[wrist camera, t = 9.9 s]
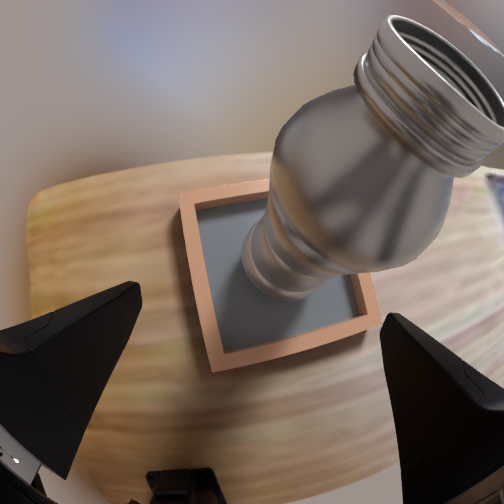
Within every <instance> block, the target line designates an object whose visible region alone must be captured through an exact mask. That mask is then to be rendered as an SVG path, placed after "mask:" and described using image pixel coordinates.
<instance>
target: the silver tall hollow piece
mask: <svg viewBox="0 0 504 504" xmlns="http://www.w3.org/2000/svg"><path fill="white" fill-rule="evenodd" d="M353 75H354V83H355V85H353V86H348V87H345V88H341V89H337V90H333V91H331V92H328V93H326V94H324V95H322V96H319V97H317V98H315V99H313V100H311V101H309V102H308V103H306V104H304V105H303V106H302V107H301V108H300V109H299V110H298V111H297V112H296V113H295V114H294V115H293V116H292V117H291V118H290V119H289V120H288V121H287V123H286V124H285V125H284V126H283V127H282V128H281V130H280V132H279V134H278V136H277V138H276V141H275V147H274V151H273V156H272V161H271V167H270V182H269V198H268V202H267V206H266V210H265V213H264V215H263V216H262V218H261V219H260V220H258V221H257V222H256V223H255V224H254V225H253V227H252V228H251V229H250V231H249V232H248V233H247V235H246V237H245V239H244V242H243V246H242V263H243V268H244V270H245V272H246V275H247V277H248V278H249V280H250V281H251V283H252V284H253V285H254V286H255V287H256V288H257V289H258V290H259V291H260V292H262V293H263V294H265V295H266V296H269V297H271V298H273V299H276V300H281V301H296V300H301V299H303V298H306V297H308V296H310V295H311V294H312V293H314V292H315V291H317V290H318V289H319V288H320V287H321V286H322V285H323V284H324V283H325V282H326V281H327V280H329V279H330V278H333V277H337V276H341V275H344V274H357V273H369V272H378V271H383V270H387V269H391V268H395V267H400V266H404V265H406V264H408V263H409V262H411V261H413V260H415V259H416V258H417V257H418V256H419V255H420V254H421V253H422V252H423V251H424V250H425V249H426V248H427V247H428V246H429V245H430V244H431V243H432V242H433V240H434V239H435V238H436V237H437V236H438V234H439V232H440V230H441V228H442V226H443V223H444V220H445V217H446V214H447V211H448V208H449V204H450V200H451V194H452V187H453V180H454V177H458V178H463V177H466V176H469V175H470V174H471V173H473V172H474V171H475V170H476V169H478V168H479V167H480V166H481V165H482V163H483V160H484V158H485V157H486V156H487V155H488V154H490V153H491V152H492V151H493V150H495V149H496V148H497V147H498V146H499V145H500V144H502V143H503V142H504V102H503V101H502V99H501V97H500V96H499V95H498V93H497V91H496V90H495V88H494V87H493V86H492V85H491V83H490V82H489V80H488V79H487V78H486V77H485V76H484V75H483V74H482V73H481V71H480V70H479V69H478V68H477V67H476V66H475V65H474V64H473V63H472V62H471V61H470V60H469V59H468V58H467V57H466V56H465V55H464V54H463V53H462V52H461V51H459V50H458V49H457V48H456V47H455V46H453V45H452V44H451V43H449V42H448V41H447V40H445V39H444V38H443V37H441V36H440V35H438V34H437V33H435V32H433V31H432V30H430V29H429V28H427V27H425V26H423V25H421V24H419V23H417V22H415V21H413V20H410V19H407V18H405V17H402V16H397V15H389V16H387V17H386V19H385V20H384V21H383V22H382V23H381V25H380V27H379V29H378V31H377V33H376V35H375V38H374V40H373V42H372V44H371V46H370V48H369V50H368V51H366V52H364V53H363V54H362V55H361V56H360V58H359V61H358V63H357V65H356V67H355V70H354V74H353Z"/></svg>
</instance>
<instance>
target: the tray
mask: <svg viewBox="0 0 504 504" xmlns="http://www.w3.org/2000/svg"><path fill="white" fill-rule="evenodd" d="M269 182H270V178H268V179H261V180H254V181H247V182H241V183H234V184H228V185H222V186H216V187H210V188H205V189H199V190H194V191H189V192H183V193H178V197H179V204H180V212H181V218H182V225H183V232H184V238H185V244H186V250H187V256H188V262H189V268H190V273H191V279H192V284H193V289H194V294H195V299H196V304H197V309H198V314H199V319H200V323H201V328H202V333H203V337H204V341H205V346H206V350H207V354H208V358H209V362H210V366H211V370H212V373H213V372H218V371H223V370H228V369H233V368H238V367H242V366H247V365H251V364H255V363H260V362H264V361H268V360H272V359H275V358H279V357H283V356H287V355H290V354H294V353H297V352H301V351H304V350H308V349H311V348H314V347H318V346H321V345H324V344H327V343H330V342H333V341H336V340H339V339H342V338H345V337H348V336H351V335H354V334H356V333H359V332H362V331H365V330H367V329H370V328H373V327H375V326H378V325H380V324H382V322H381V317H380V313H379V308H378V304H377V300H376V295H375V291H374V287H373V283H372V280H371V276H370V272H369V273H357V274H344V275H341V276H337V277H333V278H330V279H329V280H327V281H326V282H325V283H324V284H323V285H322V286H321V287H320V288H319V289H318V290H317V291H315V292H314V293H312V294H311V295H310V296H308V297H306V298H303V299H301V300H296V301H281V300H276V299H273V298H271V297H269V296H266V295H265V294H263V293H262V292H260V291H259V290H258V289H257V288H256V287H255V286H254V285H253V284H252V283H251V281H250V280H249V278H248V277H247V275H246V272H245V270H244V268H243V263H242V246H243V242H244V239H245V237H246V235H247V233H248V232H249V231H250V229H251V228H252V227H253V225H254V224H255V223H256V222H257V221H258V220H260V219H261V218H262V216H263V215H264V213H265V210H266V206H267V202H268V198H269Z"/></svg>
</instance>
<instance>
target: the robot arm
mask: <svg viewBox="0 0 504 504" xmlns="http://www.w3.org/2000/svg"><path fill="white" fill-rule="evenodd" d="M141 308H142V296H141V289H140V285H139V283H137V282H132V281H127V282H125V283H122V284H119V285H117V286H114V287H112V288H109V289H107V290H104V291H102V292H99V293H97V294H94V295H92V296H89V297H87V298H84V299H82V300H79V301H77V302H75V303H72V304H70V305H67V306H65V307H62V308H60V309H57V310H55V311H54V312H50V313H48V314H45V315H43V316H40V317H38V318H35V319H32V320H30V321H27V322H24V323H21V324H18V325H16V326H12V327H9V328H6V329H3V330H0V504H58V503H56V502H54V501H53V500H51V499H50V498H48V497H47V495H46V493H45V490H44V487H43V485H42V482H41V479H40V476H39V474H38V471H39V469H40V467H41V465H42V466H44V467H45V468H47V469H48V470H50V471H51V472H53V473H55V474H56V475H58V476H59V477H61V478H62V479H64V480H66V478H67V476H68V473H69V471H70V468H71V465H72V462H73V460H74V457H75V455H76V452H77V450H78V447H79V445H80V442H81V440H82V438H83V435H84V432H85V430H86V428H87V425H88V423H89V421H90V419H91V416H92V414H93V412H94V410H95V407H96V405H97V403H98V401H99V399H100V397H101V394H102V392H103V390H104V388H105V386H106V384H107V382H108V380H109V378H110V376H111V374H112V372H113V370H114V368H115V366H116V364H117V362H118V360H119V358H120V356H121V354H122V352H123V350H124V348H125V346H126V344H127V342H128V340H129V338H130V335H131V333H132V330H133V328H134V325H135V323H136V320H137V318H138V315H139V313H140V310H141ZM380 342H381V349H382V357H383V365H384V371H385V376H386V381H387V386H388V390H389V395H390V400H391V406H392V411H393V417H394V423H395V429H396V435H397V442H398V450H399V458H400V467H401V470H402V471H401V480H402V494H403V504H504V389H503V388H502V387H500V386H499V385H497V384H496V383H494V382H493V381H491V380H490V379H488V378H487V377H486V376H484V375H483V374H481V373H480V372H478V371H477V370H476V369H474V368H473V367H472V366H470V365H469V364H468V363H466V362H465V361H462V359H461V358H460V357H458V356H457V355H456V354H454V353H453V352H452V351H450V350H449V349H448V348H446V347H445V346H444V345H442V344H441V343H440V342H438V341H437V340H435V339H434V338H433V337H431V336H430V335H429V334H427V333H426V332H424V331H423V330H422V329H420V328H419V327H418V326H416V325H415V324H413V323H412V322H411V321H409V320H408V319H406V318H405V317H404V316H402V315H401V314H399V313H389V314H388V315H387V316H386V319H385V321H384V323H383V326H382V328H381V330H380ZM206 472H210V474H207V473H206ZM149 475H151V476H153V477H150V476H149ZM146 479H147V481H148V483H149V485H150V487H151V489H152V491H153V496H152V498H151V501H150V503H149V504H227V502H226V500H225V498H224V495H223V493H222V491H221V488H220V486H219V483H218V481H217V478H216V476H215V473H214V471H213V469H211V468H200V469H190V470H189V469H177V470H163V471H153V472H147V474H146ZM128 504H139V503H138V502H137V501H134V500H132V499H131V501H130V502H129V503H128Z"/></svg>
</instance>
